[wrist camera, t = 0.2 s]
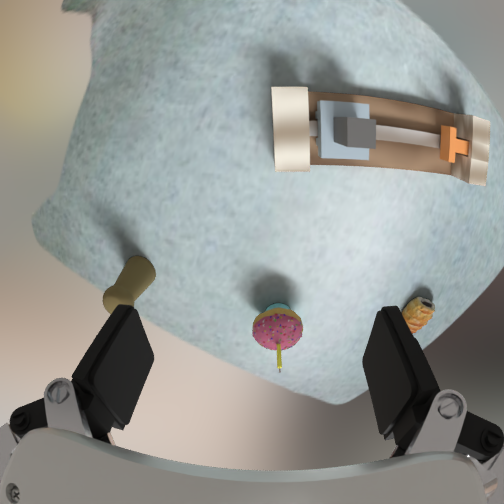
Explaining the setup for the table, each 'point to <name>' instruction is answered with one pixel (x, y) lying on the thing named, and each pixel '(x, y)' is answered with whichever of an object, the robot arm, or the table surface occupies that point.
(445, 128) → the button
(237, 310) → the table surface
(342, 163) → the rail bench
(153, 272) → the cork
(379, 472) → the robot arm
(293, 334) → the cupcake
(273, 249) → the table surface
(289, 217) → the table surface
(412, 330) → the pastry
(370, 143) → the carriage
